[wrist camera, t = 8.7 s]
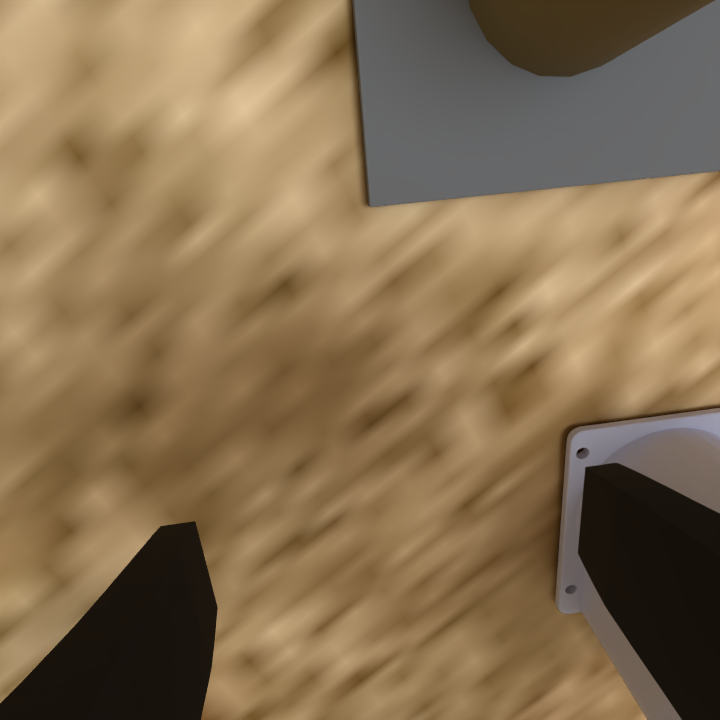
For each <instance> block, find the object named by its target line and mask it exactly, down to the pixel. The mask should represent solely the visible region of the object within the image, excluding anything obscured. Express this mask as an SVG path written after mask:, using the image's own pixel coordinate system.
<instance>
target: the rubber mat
mask: <svg viewBox="0 0 720 720" xmlns="http://www.w3.org/2000/svg"><path fill="white" fill-rule="evenodd" d="M352 5H353V18H354V30H355V43H356V55H357V68H358V80H359V93H360V105H361V118H362V130H363V143H364V156H365V168H366V181H367V193H368V206H370V207H376V206H386V205H395V204H405V203H414V202H424V201H434V200H443V199H453V198H463V197H472V196H482V195H492V194H501V193H511V192H521V191H530V190H540V189H549V188H559V187H569V186H578V185H588V184H598V183H607V182H617V181H627V180H636V179H646V178H655V177H665V176H675V175H684V174H694V173H704V172H713V171H720V0H715V1H713V2H711V3H710V4H708V5H706V6H704V7H703V8H701V9H699V10H697V11H696V12H694V13H692V14H691V15H689V16H687V17H685V18H684V19H682V20H680V21H679V22H677V23H675V24H673V25H672V26H670V27H668V28H666V29H665V30H663V31H661V32H660V33H658V34H656V35H654V36H653V37H651V38H649V39H648V40H646V41H644V42H642V43H641V44H639V45H637V46H635V47H634V48H632V49H630V50H629V51H627V52H625V53H623V54H622V55H620V56H618V57H616V58H615V59H613V60H611V61H610V62H608V63H606V64H604V65H603V66H601V67H598V68H595V69H592V70H589V71H586V72H583V73H580V74H577V75H574V76H572V77H558V76H538V75H536V74H534V73H531V72H529V71H527V70H524V69H522V68H519V67H517V66H515V65H512V64H511V63H510V62H509V61H507V60H506V59H505V58H504V57H503V56H502V55H501V54H500V53H499V52H498V51H497V50H496V49H495V48H494V47H493V46H492V45H491V44H490V43H489V42H488V41H487V40H486V38H485V36H484V34H483V32H482V30H481V28H480V26H479V24H478V22H477V20H476V18H475V17H474V15H473V13H472V11H471V9H470V5H469V0H352Z"/></svg>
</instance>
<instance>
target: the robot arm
mask: <svg viewBox="0 0 720 720" xmlns="http://www.w3.org/2000/svg"><path fill="white" fill-rule="evenodd" d="M581 448H584V449H583V451H582V452H581V453H578V454H576V453H577V451H578V450H579V449H581ZM568 586H569V587H568ZM555 603H556V606H557V608H558V610H559V611H560V612H561V613H563V614H572V613H579V612H582V614H583V615H584V617H585V619H586V620H587V622H588V623H589V625H590V627H591V628H592V630H593V632H594V633H595V635H596V637H597V638H598V640H599V641H600V643H601V645H602V646H603V648H604V650H605V651H606V653H607V655H608V656H609V658H610V659H611V661H612V663H613V664H614V666H615V668H616V669H617V671H618V673H619V674H620V676H621V677H622V679H623V681H624V682H625V684H626V686H627V687H628V689H629V691H630V692H631V694H632V695H633V697H634V699H635V700H636V702H637V704H638V705H639V707H640V709H641V710H642V712H643V713H644V715H645V717H646V718H647V720H720V408H715V409H708V410H700V411H693V412H685V413H678V414H670V415H663V416H656V417H648V418H641V419H633V420H626V421H618V422H611V423H603V424H596V425H589V426H581V427H577V428H575V429H573V430H572V431H571V432H570V433H569V435H568V437H567V444H566V458H565V472H564V486H563V500H562V514H561V528H560V542H559V557H558V571H557V585H556V599H555ZM216 618H217V604H216V600H215V596H214V592H213V588H212V584H211V581H210V577H209V573H208V569H207V565H206V561H205V557H204V554H203V550H202V546H201V542H200V538H199V534H198V530H197V526H196V523H195V522H188V523H180V524H173V525H166V526H160V528H159V529H158V530H157V531H156V532H155V533H154V534H153V535H152V537H151V538H150V539H149V540H148V541H147V543H146V544H145V545H144V546H143V547H142V548H141V550H140V551H139V552H138V553H137V554H136V555H135V557H134V558H133V559H132V560H131V561H130V563H129V564H128V565H127V566H126V567H125V568H124V570H123V571H122V572H121V573H120V574H119V576H118V577H117V578H116V579H115V580H114V581H113V583H112V584H111V585H110V586H109V587H108V589H107V590H106V591H105V592H104V593H103V594H102V595H101V597H100V598H99V599H98V600H97V601H96V602H95V603H94V605H93V606H92V607H91V608H90V609H89V610H88V611H87V613H86V614H85V615H84V616H83V617H82V618H81V619H80V621H79V622H78V623H77V624H76V625H75V626H74V627H73V628H72V629H71V630H70V632H69V633H68V634H67V635H66V636H65V637H64V638H63V639H62V640H61V641H60V642H59V643H58V644H57V645H56V646H55V647H54V648H53V650H52V651H51V652H50V653H49V654H48V655H47V656H46V657H45V658H44V659H43V660H42V661H41V662H40V663H39V664H38V665H37V666H36V668H35V669H34V670H33V671H32V672H31V673H30V674H29V675H28V676H27V677H26V678H25V679H24V680H23V681H22V682H21V683H20V684H19V685H18V686H17V687H16V688H15V689H14V690H13V691H12V692H11V693H10V694H9V695H8V696H7V697H6V698H5V699H4V700H3V701H2V702H1V703H0V720H201V716H202V711H203V706H204V702H205V697H206V692H207V687H208V683H209V678H210V673H211V668H212V659H213V650H214V641H215V630H216Z"/></svg>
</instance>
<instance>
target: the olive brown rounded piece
mask: <svg viewBox="0 0 720 720" xmlns="http://www.w3.org/2000/svg"><path fill="white" fill-rule="evenodd" d="M713 1H715V0H469V5H470V9H471V11H472V13H473V15H474V17H475V18H476V20H477V22H478V24H479V26H480V28H481V30H482V32H483V34H484V36H485V38H486V40H487V41H488V42H489V43H490V44H491V45H492V46H493V47H494V48H495V49H496V50H497V51H498V52H499V53H500V54H501V55H502V56H503V57H504V58H505V59H506V60H507V61H509V62H510V63H511V64H512V65H515V66H517V67H519V68H522V69H524V70H527V71H529V72H531V73H534V74H536V75H538V76H558V77H572V76H574V75H577V74H580V73H583V72H586V71H589V70H592V69H595V68H598V67H601V66H603V65H604V64H606V63H608V62H610V61H611V60H613V59H615V58H616V57H618V56H620V55H622V54H623V53H625V52H627V51H629V50H630V49H632V48H634V47H635V46H637V45H639V44H641V43H642V42H644V41H646V40H648V39H649V38H651V37H653V36H654V35H656V34H658V33H660V32H661V31H663V30H665V29H666V28H668V27H670V26H672V25H673V24H675V23H677V22H679V21H680V20H682V19H684V18H685V17H687V16H689V15H691V14H692V13H694V12H696V11H697V10H699V9H701V8H703V7H704V6H706V5H708V4H710V3H711V2H713Z"/></svg>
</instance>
